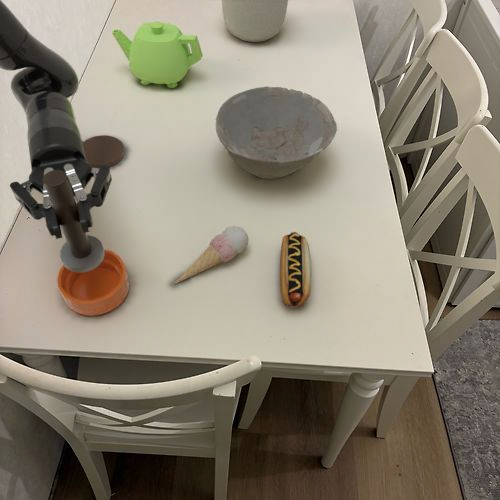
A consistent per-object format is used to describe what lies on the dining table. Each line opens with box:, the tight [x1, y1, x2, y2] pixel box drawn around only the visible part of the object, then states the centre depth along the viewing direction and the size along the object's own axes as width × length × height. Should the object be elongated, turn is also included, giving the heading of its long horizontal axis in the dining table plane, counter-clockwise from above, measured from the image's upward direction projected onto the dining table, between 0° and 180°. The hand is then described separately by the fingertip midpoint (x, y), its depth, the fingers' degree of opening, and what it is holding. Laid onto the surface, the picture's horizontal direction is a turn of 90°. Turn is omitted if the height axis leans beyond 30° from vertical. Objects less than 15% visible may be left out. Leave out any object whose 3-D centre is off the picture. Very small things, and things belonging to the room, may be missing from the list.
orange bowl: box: [56, 248, 130, 316], centre depth 76 cm, size 10×10×4 cm
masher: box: [43, 170, 105, 273], centre depth 64 cm, size 6×6×16 cm
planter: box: [221, 0, 289, 43], centre depth 123 cm, size 17×17×15 cm
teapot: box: [111, 21, 204, 89], centre depth 110 cm, size 20×13×13 cm
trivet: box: [83, 134, 125, 168], centre depth 97 cm, size 9×9×1 cm
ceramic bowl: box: [215, 86, 338, 180], centre depth 94 cm, size 22×23×10 cm
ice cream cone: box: [174, 225, 249, 285], centre depth 81 cm, size 5×5×15 cm
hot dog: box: [279, 231, 313, 308], centre depth 79 cm, size 5×13×5 cm, turn 177°
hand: (71, 230), depth 62 cm, fingers closed on masher, 3 cm apart
